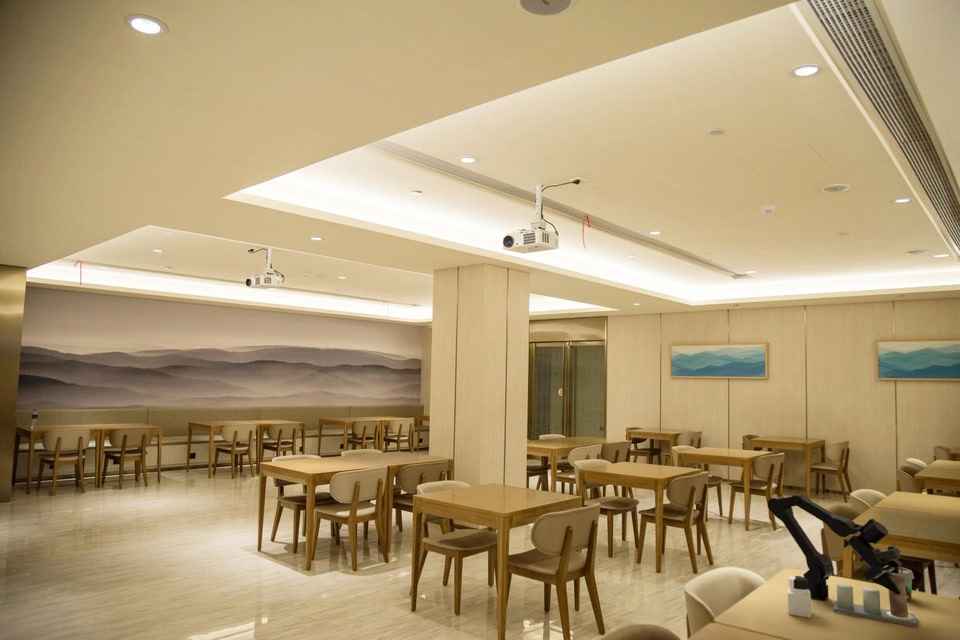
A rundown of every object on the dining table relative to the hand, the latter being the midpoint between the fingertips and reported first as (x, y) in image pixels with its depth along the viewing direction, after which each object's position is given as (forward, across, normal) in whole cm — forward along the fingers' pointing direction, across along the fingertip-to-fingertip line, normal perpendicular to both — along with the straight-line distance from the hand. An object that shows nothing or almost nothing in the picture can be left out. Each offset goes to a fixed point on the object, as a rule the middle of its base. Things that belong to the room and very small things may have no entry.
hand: (903, 592), depth 215 cm
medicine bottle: (-10, -23, +24) cm, 35 cm away
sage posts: (-3, -4, +15) cm, 16 cm away
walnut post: (+4, 0, +6) cm, 8 cm away
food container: (0, +29, +14) cm, 32 cm away
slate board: (+1, -3, +12) cm, 13 cm away
